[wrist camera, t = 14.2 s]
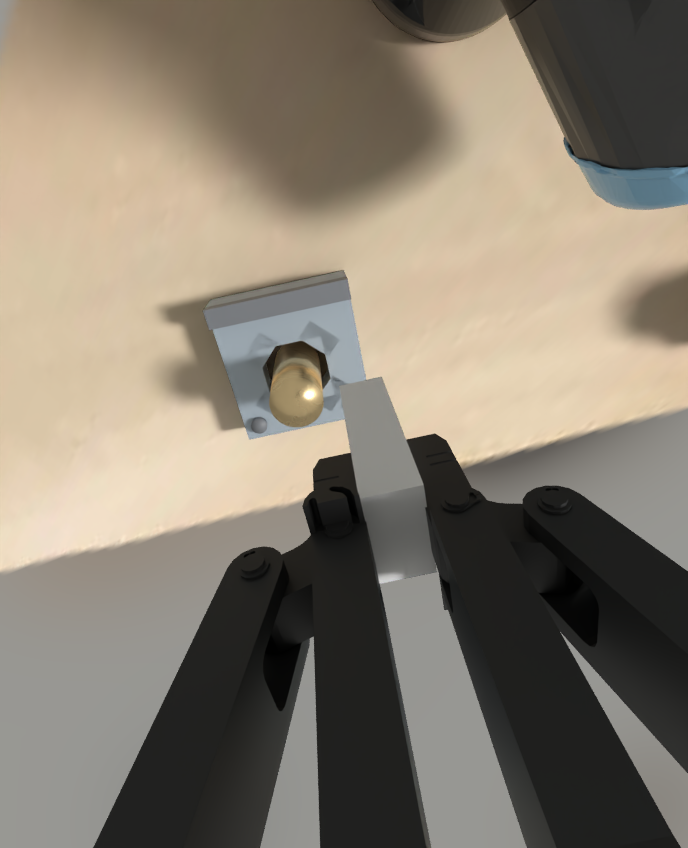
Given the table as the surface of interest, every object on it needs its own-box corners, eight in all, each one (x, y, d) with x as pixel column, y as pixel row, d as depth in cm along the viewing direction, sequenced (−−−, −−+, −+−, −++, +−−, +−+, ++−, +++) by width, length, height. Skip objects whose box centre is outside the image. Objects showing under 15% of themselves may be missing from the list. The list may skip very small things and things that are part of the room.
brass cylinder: (269, 346, 49) (262, 384, 40) (314, 336, 49) (316, 372, 40) (281, 387, 51) (277, 432, 43) (324, 377, 51) (328, 421, 42)
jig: (210, 299, 47) (202, 310, 43) (343, 270, 46) (347, 279, 43) (252, 426, 53) (248, 445, 50) (368, 401, 53) (374, 418, 49)
